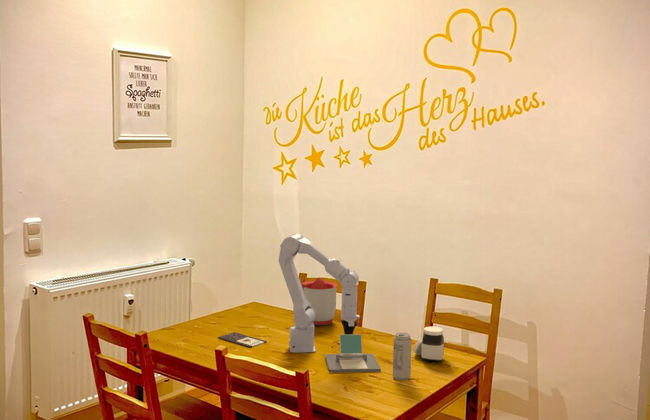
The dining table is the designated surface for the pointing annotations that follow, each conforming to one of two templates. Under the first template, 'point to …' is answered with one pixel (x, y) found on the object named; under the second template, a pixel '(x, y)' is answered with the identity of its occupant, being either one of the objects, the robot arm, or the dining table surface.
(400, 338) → the energy drink can
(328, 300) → the citrus juicer
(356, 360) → the grey flat piece
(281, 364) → the dining table surface
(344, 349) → the tile
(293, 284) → the robot arm
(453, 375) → the dining table surface
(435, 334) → the spread jar
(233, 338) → the chocolate bar
